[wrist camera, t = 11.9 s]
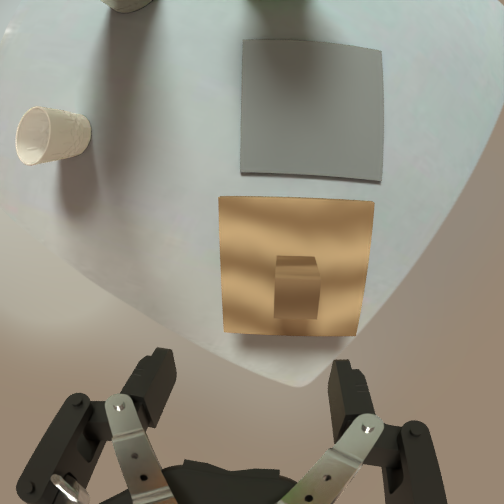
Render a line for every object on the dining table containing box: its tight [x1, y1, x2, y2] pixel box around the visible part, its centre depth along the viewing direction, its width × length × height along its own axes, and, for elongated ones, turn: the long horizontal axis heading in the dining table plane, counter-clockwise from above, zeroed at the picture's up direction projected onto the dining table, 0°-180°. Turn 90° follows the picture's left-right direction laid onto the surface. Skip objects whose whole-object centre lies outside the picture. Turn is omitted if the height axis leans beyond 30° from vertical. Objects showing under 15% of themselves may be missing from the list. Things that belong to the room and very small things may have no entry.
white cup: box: [16, 106, 91, 166], centre depth 31 cm, size 8×8×10 cm
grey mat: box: [240, 39, 384, 181], centre depth 32 cm, size 18×18×1 cm
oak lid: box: [218, 196, 374, 336], centre depth 29 cm, size 16×16×7 cm
